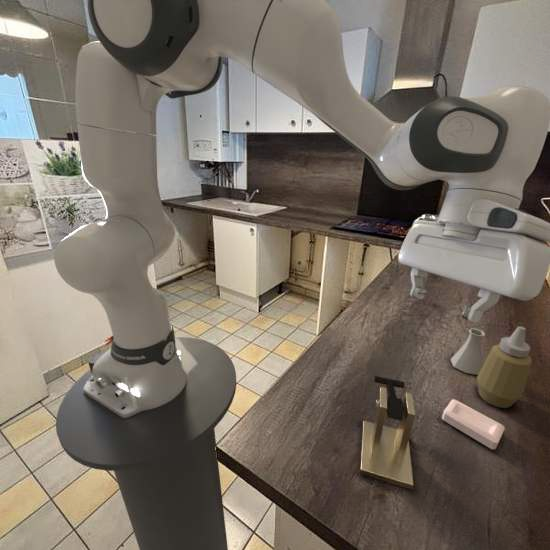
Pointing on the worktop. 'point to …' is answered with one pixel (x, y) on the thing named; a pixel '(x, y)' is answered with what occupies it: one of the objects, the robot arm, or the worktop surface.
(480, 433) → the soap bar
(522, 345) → the squeeze bottle
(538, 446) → the worktop surface
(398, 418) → the lever
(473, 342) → the flask
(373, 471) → the cream lever mount
